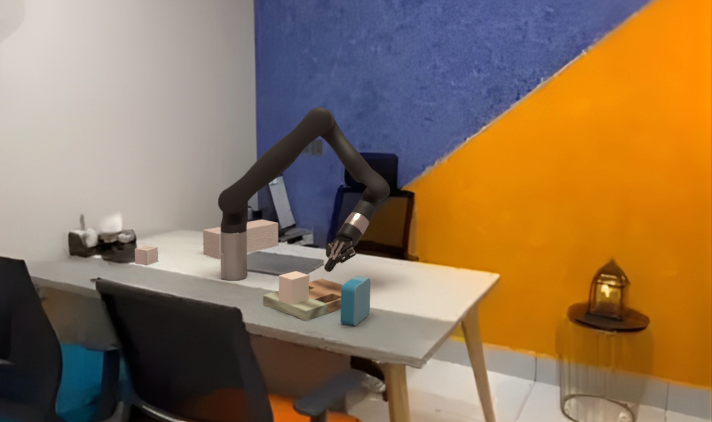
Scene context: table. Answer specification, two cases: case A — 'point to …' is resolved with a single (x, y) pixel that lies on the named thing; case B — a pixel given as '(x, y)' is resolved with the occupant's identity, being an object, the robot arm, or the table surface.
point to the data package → (355, 300)
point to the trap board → (310, 300)
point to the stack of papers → (258, 238)
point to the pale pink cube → (146, 255)
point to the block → (293, 287)
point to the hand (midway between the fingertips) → (326, 270)
